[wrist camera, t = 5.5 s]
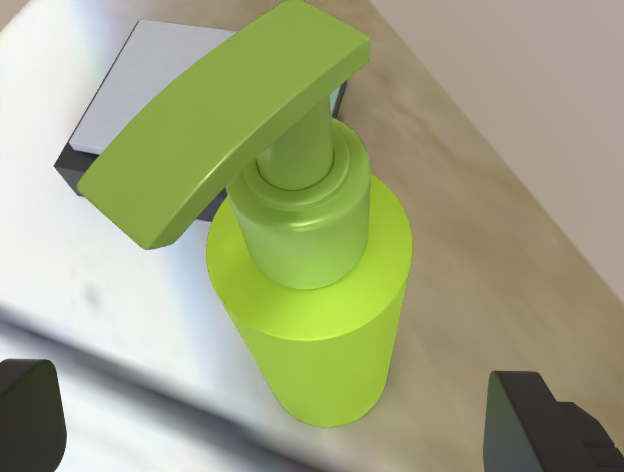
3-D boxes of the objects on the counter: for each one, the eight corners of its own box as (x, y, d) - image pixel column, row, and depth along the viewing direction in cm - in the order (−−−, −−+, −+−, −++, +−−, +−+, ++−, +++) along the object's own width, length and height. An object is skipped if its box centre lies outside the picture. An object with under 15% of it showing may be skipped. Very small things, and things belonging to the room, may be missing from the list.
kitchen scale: (352, 83, 36) (352, 33, 32) (306, 240, 30) (300, 201, 27) (152, 55, 38) (132, 5, 35) (76, 195, 33) (42, 154, 29)
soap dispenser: (229, 387, 27) (-10, 106, 9) (322, 288, 29) (272, -92, 11) (319, 473, 24) (231, 323, 7) (412, 359, 27) (521, 25, 9)
